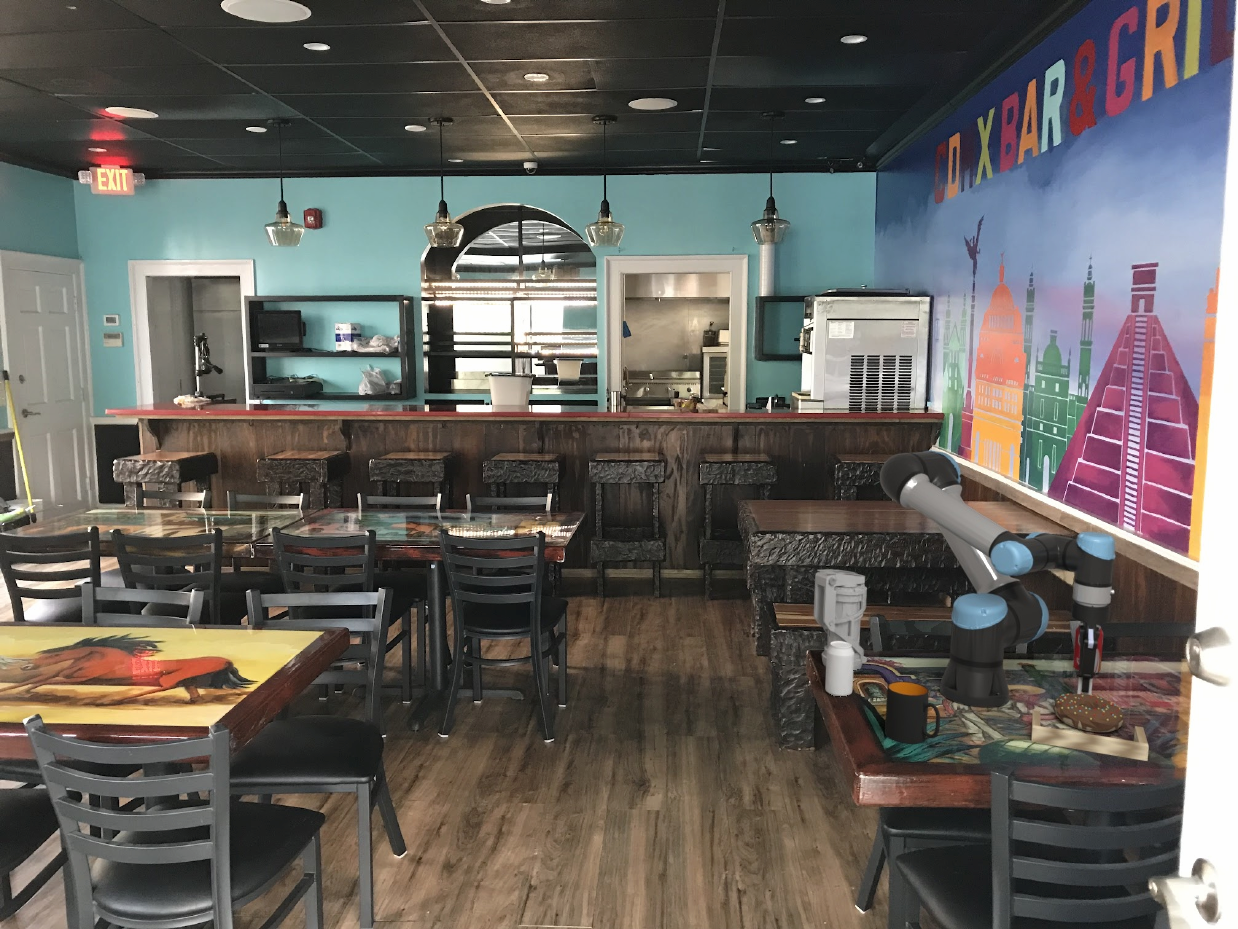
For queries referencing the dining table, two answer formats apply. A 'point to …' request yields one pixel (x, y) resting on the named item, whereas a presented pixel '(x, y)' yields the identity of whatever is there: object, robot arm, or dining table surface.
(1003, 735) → the dining table surface
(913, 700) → the mug
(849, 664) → the beverage can
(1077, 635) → the beverage can
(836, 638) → the grey mechanical part
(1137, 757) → the oak rail
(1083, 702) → the donut
